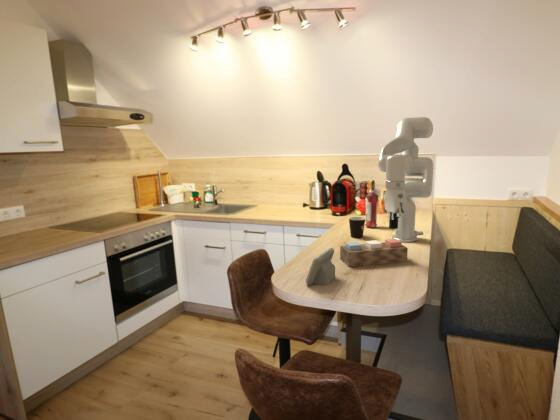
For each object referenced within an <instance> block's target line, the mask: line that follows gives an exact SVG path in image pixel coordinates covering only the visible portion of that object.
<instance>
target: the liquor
mask: <svg viewBox="0 0 560 420" xmlns="http://www.w3.org/2000/svg"><path fill="white" fill-rule="evenodd" d="M378 204H379V195H378V194H376V193H375V180H374V179H371V180H369V193H368V194H365V225H364V226H365V227H366V228H367V229H374V228H376V227H378V224H377V216H378V215H377V214H378V206H379V205H378Z"/></svg>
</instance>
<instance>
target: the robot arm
mask: <svg viewBox="0 0 560 420" xmlns="http://www.w3.org/2000/svg"><path fill="white" fill-rule="evenodd" d="M395 127H396V128H395V129H396V130H395V136H394V138H393V139H391V140H390V141H389V142H388V143H386V144H385V145H384V146H383V147H382V149H381V151H380V152H379V153H380V154H379V156H378V157H379V158H378V163H377V167H378V169H379V171H380V172H383V173H385V196H384V209H385V211H386V214H388V219H389V220H388V221H389V223H388V224H389V225H388V228H389V229H391V230H394V234H393V235H392V236H391V239H397V240H399V241H401V242H402V243H413V242H417V241H418V239H419V238H418V236H423V235H424V231H419V230H415V229H416V209H417V207H416V204H415V202H414V201H413V199H412V198H420V199H421V198H422V199H424V198H425V199H427V198H429V197H430V196H431V195H432V192H433V180H434V162H433V159H432V158H430V157H429V156H428V157H426V156H424V157H423V156H422V157H421V156H419V149H420V148H419V147H418V145H417V143H416V142H415V139H429V138H431V137H432V135H433V133H434V125H433V121H432V120H431V119H430V118H429V117H426V116H421V117H418V116H415V117H406V118H403V119H401V120H400V121H398V123H397V125H396V126H395ZM410 177H411V178H410ZM414 177H417V178H414ZM418 177H420V178H418ZM421 177H422V178H421Z"/></svg>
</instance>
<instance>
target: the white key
mask: <svg viewBox="0 0 560 420" xmlns="http://www.w3.org/2000/svg"><path fill="white" fill-rule="evenodd" d="M382 243H383V242H380V241H379V240H375V239H374V240H366V241H365V244H366V245H365V246H366V247H367V248H369V249H378V248H382Z"/></svg>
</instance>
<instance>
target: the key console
mask: <svg viewBox="0 0 560 420" xmlns="http://www.w3.org/2000/svg"><path fill="white" fill-rule="evenodd" d="M381 243H382V248H378V249H369V248H367V247H366V246H365V245H366V243H360V244H361V250H352V251H349V250H348V249H346V244H345V245H340V247H339V251H340V253H339V259H340V260H341V262H343V263H344V264H345V265H346V266H347V267H357V266H369V265H372V266H373V265H382V264H394V263H395V264H396V263H406V262H408V249H409V247H407V246H405V245H403V244H401V247H392V248H390V247H388V246H386V245H385V242H381Z"/></svg>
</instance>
